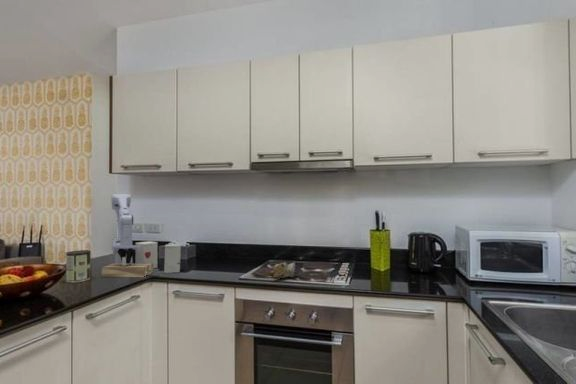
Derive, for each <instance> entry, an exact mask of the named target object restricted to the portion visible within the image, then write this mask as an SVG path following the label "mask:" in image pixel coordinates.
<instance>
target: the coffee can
mask: <svg viewBox="0 0 576 384" xmlns="http://www.w3.org/2000/svg"><path fill="white" fill-rule="evenodd" d="M91 252H92V251H91V250H88V249H87V250H86V249H85V250H84V249H83V250H82V249H81V250H73V251H67V252H66V253H65V254H66V257H65V259H66V261H65V262H66V264H65V265H66V267H65V268H66V269H65V270H66V271H65V272H66V281H65V282H66V283H71V284H72V283H73V284H74V283H81V282H87V281H89V280H91Z"/></svg>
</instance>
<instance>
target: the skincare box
mask: <svg viewBox="0 0 576 384" xmlns="http://www.w3.org/2000/svg"><path fill="white" fill-rule="evenodd" d="M181 247H182V245H181V243H180V244H177V243H176V244H169V243H168V244H165V246H164V266H163V267H164V269H163V273H164V274H170V273H171V274H172V273H180V272H181V271H180V270H181V253H182V252H181V250H182V248H181Z"/></svg>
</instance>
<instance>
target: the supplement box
mask: <svg viewBox="0 0 576 384" xmlns="http://www.w3.org/2000/svg"><path fill="white" fill-rule="evenodd" d="M135 245H137V246H141V249H139V250H137V249H135V263H153V269H157V268H158V251H159V250H158V241H140V242H135Z"/></svg>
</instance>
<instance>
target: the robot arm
mask: <svg viewBox="0 0 576 384" xmlns="http://www.w3.org/2000/svg"><path fill="white" fill-rule="evenodd" d="M131 197H132V196H131V194H130V193H122V194H121V193H112V194H111V209H112V210H114V211H115V213H116V222H117V223H116V224H117V225H116V226H117V237H115V238H114V239H112V240H113V241H112V246H111V250H112V253H113V255H114V256H115V257H114V258H115V263H122V257H125V256H127V264H129V263H133V255H134V253H135V252H136V249H137V250H139V249H141V246H137V245H136V244H133V226H134V222H135V221H134V219H135V218H134V215H133V214H132V213H131V212H132V211H131V209H130V207H131V203H132V198H131Z"/></svg>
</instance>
